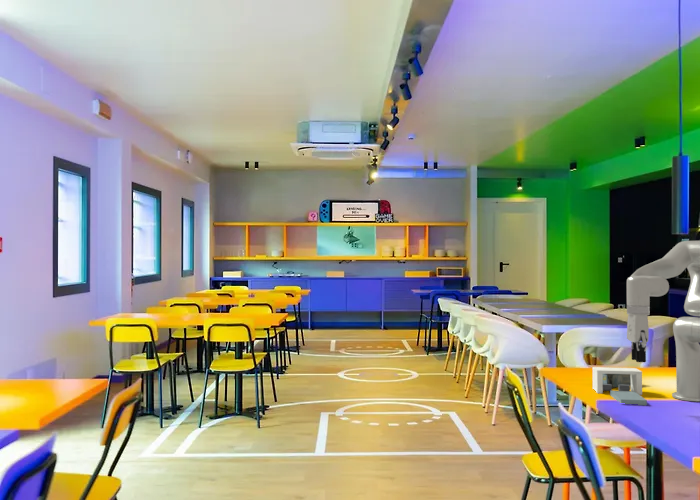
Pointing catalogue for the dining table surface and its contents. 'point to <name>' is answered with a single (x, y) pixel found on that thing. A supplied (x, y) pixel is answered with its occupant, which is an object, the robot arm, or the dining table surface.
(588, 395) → the dining table surface
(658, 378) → the dining table surface
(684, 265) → the robot arm
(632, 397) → the panel
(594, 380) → the shelf
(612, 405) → the dining table surface
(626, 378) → the beverage carton
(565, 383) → the dining table surface
